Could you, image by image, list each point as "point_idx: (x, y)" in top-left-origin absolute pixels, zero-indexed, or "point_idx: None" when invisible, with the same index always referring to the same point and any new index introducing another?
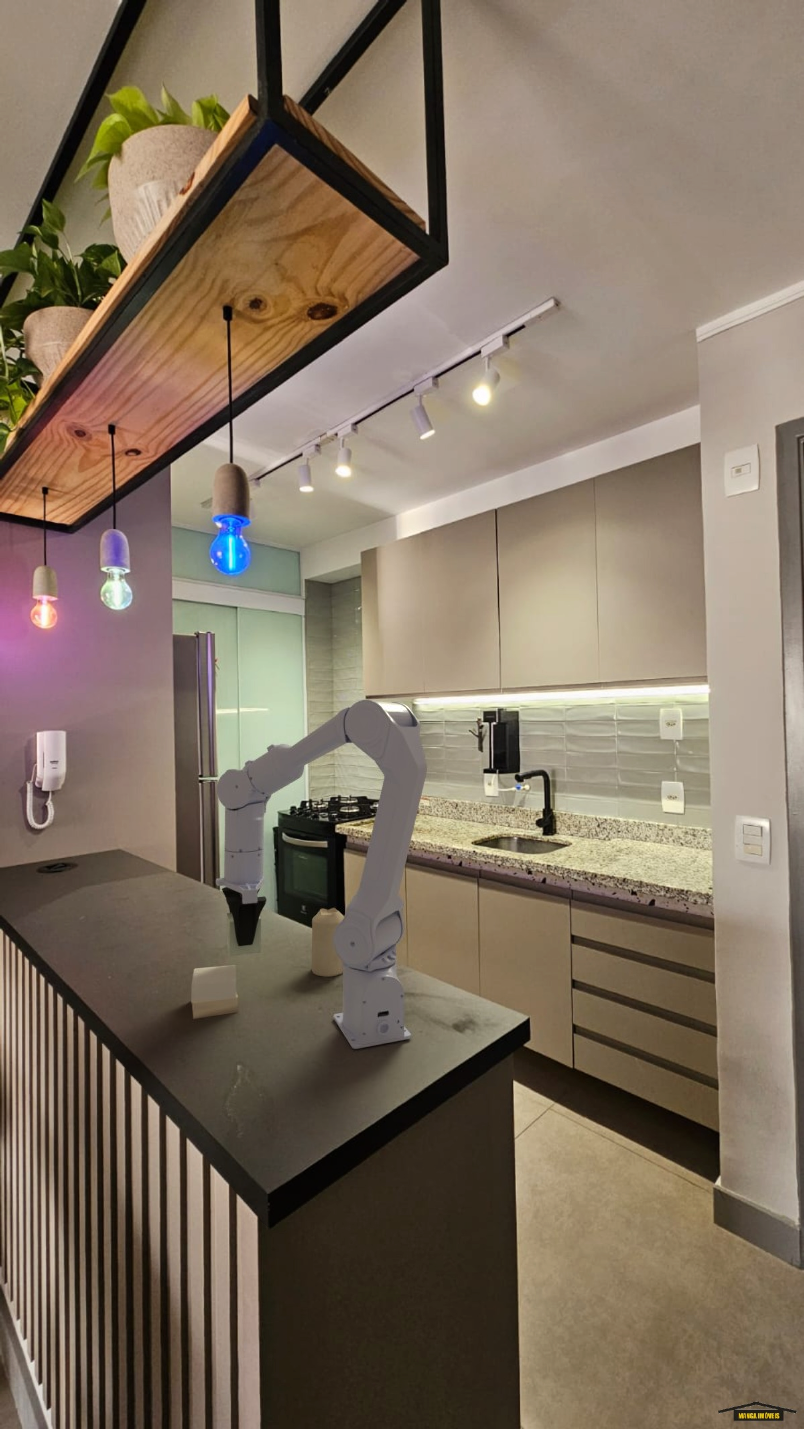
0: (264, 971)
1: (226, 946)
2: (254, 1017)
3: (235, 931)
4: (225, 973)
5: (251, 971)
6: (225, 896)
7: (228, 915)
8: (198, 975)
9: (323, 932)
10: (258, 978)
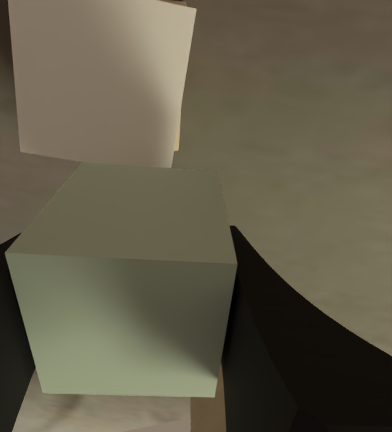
0: (295, 236)
1: (206, 171)
2: (24, 163)
3: (4, 245)
4: (97, 128)
5: (314, 209)
6: (278, 376)
7: (171, 266)
8: (106, 16)
9: (200, 427)
10: (258, 216)
